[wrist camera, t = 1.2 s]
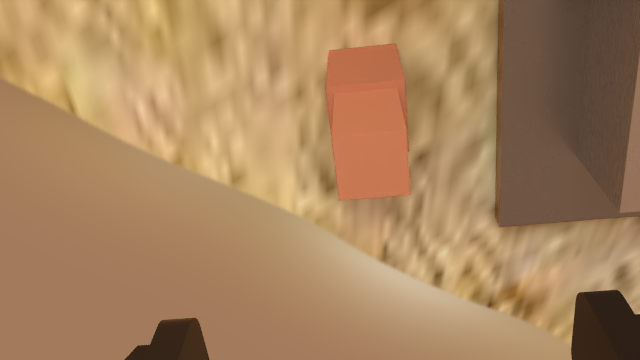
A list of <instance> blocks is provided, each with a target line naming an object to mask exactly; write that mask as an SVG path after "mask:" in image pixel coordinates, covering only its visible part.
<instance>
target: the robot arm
mask: <svg viewBox="0 0 640 360" xmlns="http://www.w3.org/2000/svg"><path fill="white" fill-rule="evenodd" d="M571 353H572V354H571V355H572V360H640V314H636V315H635V314H634V312H633V311H632V309H631V308H630V306H629V304H628V303H627V301H626V300H625V298H624V297H623V295H622V294H621V293H620V292H619V291H618V290H609V291H594V292H580V293H578V295H577V297H576V304H575V315H574V325H573V336H572V347H571ZM125 360H209V357H208V353H207V349H206V346H205V342H204V338H203V335H202V331H201V327H200V324H199V322H198V320H197V319H196V318H186V319H171V320H162V321H160V323H159V324H158V327H157V329H156V332H155V334H154V336H153V339H152V342H151V344H150V345H142V346H137V347H136V348H135V349H134V350H133V352H131V354H130V355H129V356H128V357H127V358H126V359H125Z"/></svg>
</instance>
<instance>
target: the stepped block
mask: <svg viewBox="0 0 640 360" xmlns="http://www.w3.org/2000/svg"><path fill="white" fill-rule="evenodd" d="M326 96H327V104H328V112H329V120H330V129H331V137H332V145H333V153H334V160H335V168H336V177H337V185H338V193H339V201H340V200H352V199H364V198H376V197H388V196H400V195H410V185H409V168H408V152H409V142H408V125H407V107H406V90H405V78H404V74H403V70H402V66H401V62H400V58H399V54H398V50H397V47H396V44H387V45H377V46H368V47H359V48H349V49H340V50H331V51H329V57H328V67H327V77H326Z"/></svg>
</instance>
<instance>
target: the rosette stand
mask: <svg viewBox="0 0 640 360" xmlns="http://www.w3.org/2000/svg"><path fill="white" fill-rule="evenodd" d="M632 216H640V0H499V19H498V82H497V144H496V207H495V217H496V219H497V222H498V224H499V226H500V227H504V226H517V225H529V224H542V223H555V222H568V221H581V220H593V219H606V218H619V217H632Z"/></svg>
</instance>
